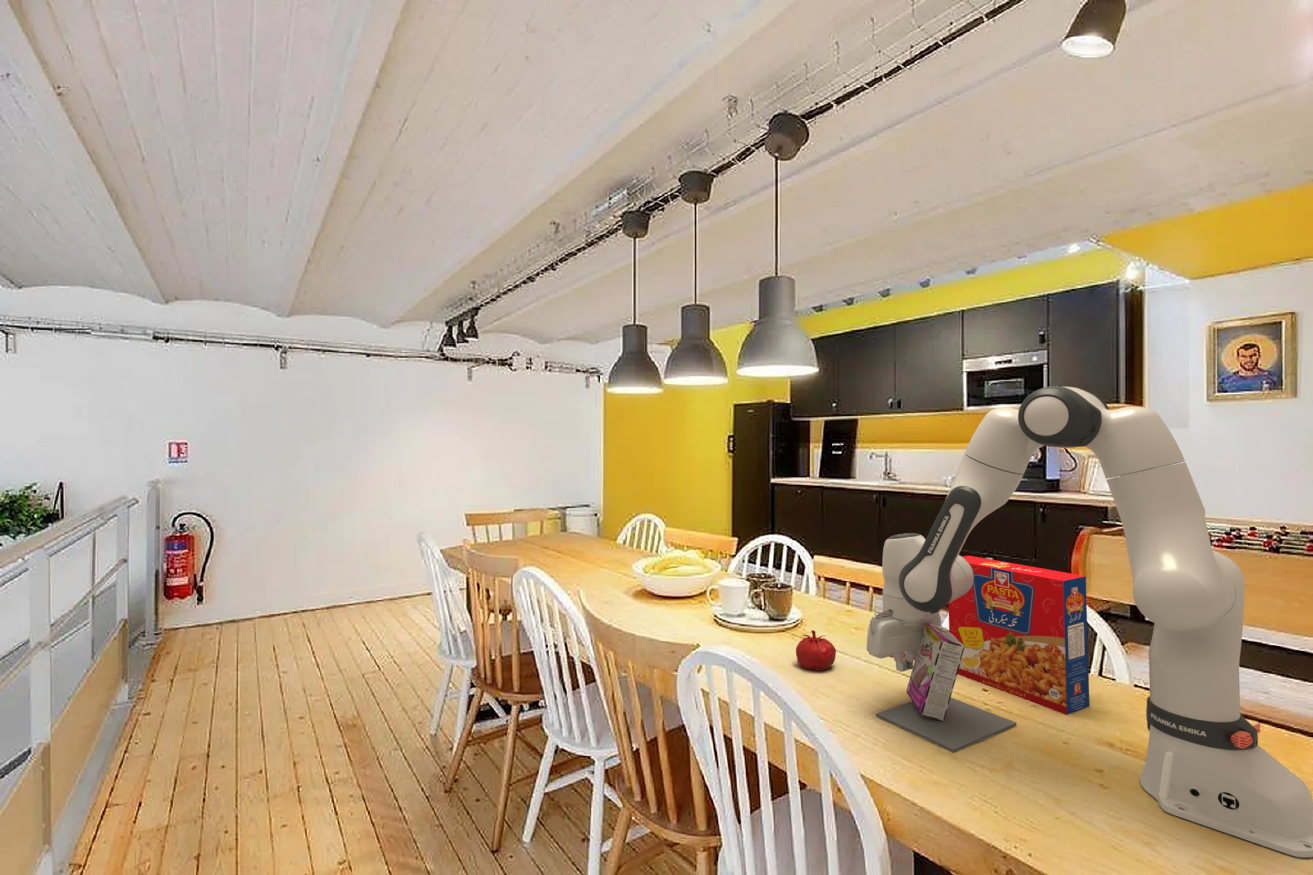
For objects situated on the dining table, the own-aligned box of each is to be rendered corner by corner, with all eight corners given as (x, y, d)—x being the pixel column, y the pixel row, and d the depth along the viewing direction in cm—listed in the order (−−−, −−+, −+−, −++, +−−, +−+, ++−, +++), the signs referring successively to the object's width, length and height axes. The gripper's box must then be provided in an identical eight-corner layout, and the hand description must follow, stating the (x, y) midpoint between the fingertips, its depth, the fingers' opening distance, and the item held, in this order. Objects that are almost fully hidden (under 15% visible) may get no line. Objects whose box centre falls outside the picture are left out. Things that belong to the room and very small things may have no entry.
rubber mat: (1016, 725, 125) (1016, 722, 125) (953, 752, 115) (953, 749, 115) (937, 694, 141) (937, 692, 141) (875, 716, 131) (875, 713, 131)
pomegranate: (827, 677, 154) (826, 640, 153) (789, 668, 160) (788, 632, 159) (842, 664, 161) (841, 628, 161) (805, 656, 168) (804, 622, 167)
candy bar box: (904, 691, 138) (924, 621, 137) (926, 698, 137) (947, 627, 136) (920, 715, 127) (942, 639, 126) (944, 722, 126) (967, 645, 125)
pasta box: (950, 671, 155) (947, 559, 155) (971, 665, 158) (968, 555, 158) (1066, 715, 129) (1063, 580, 130) (1089, 706, 133) (1085, 576, 133)
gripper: (882, 618, 129) (883, 684, 129) (946, 603, 139) (946, 665, 139) (859, 610, 134) (859, 674, 134) (921, 596, 144) (922, 656, 144)
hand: (904, 669), depth 137 cm, fingers closed
